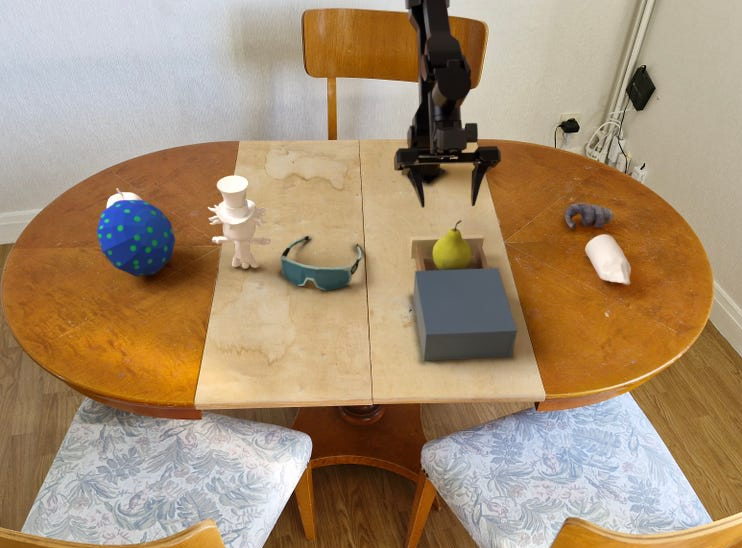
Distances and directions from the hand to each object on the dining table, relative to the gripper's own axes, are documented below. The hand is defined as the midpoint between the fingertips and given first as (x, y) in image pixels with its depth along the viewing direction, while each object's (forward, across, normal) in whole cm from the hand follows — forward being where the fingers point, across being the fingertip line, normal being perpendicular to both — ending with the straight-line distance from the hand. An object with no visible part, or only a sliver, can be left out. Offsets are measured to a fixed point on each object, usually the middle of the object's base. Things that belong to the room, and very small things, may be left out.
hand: (448, 206), depth 125 cm
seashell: (+2, +30, +13) cm, 33 cm away
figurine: (+10, -38, +6) cm, 39 cm away
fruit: (+12, 0, +1) cm, 12 cm away
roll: (+14, +30, +1) cm, 33 cm away
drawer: (+13, 0, +1) cm, 13 cm away
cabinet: (+22, 0, -7) cm, 23 cm away
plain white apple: (-1, -61, +16) cm, 63 cm away
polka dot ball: (+8, -57, +7) cm, 58 cm away
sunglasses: (+9, -23, +6) cm, 26 cm away
